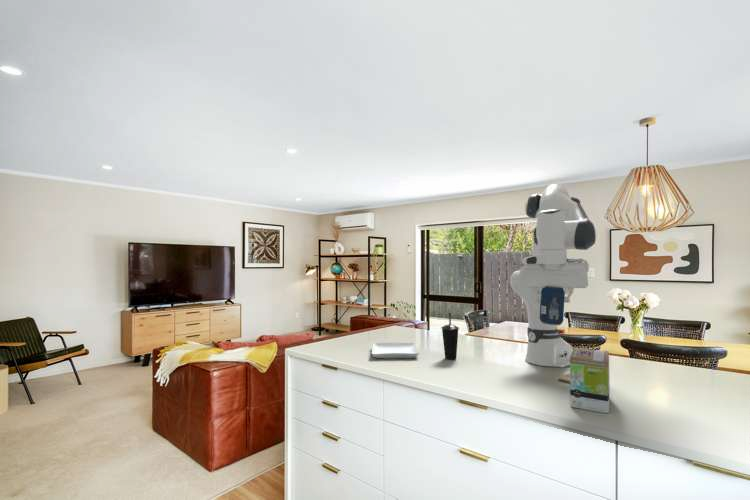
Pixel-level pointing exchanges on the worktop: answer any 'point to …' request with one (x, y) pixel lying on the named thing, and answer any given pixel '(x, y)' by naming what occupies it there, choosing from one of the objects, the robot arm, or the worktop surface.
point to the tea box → (589, 380)
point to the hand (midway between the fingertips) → (552, 301)
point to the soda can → (552, 305)
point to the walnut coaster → (565, 378)
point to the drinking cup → (450, 340)
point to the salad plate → (394, 350)
